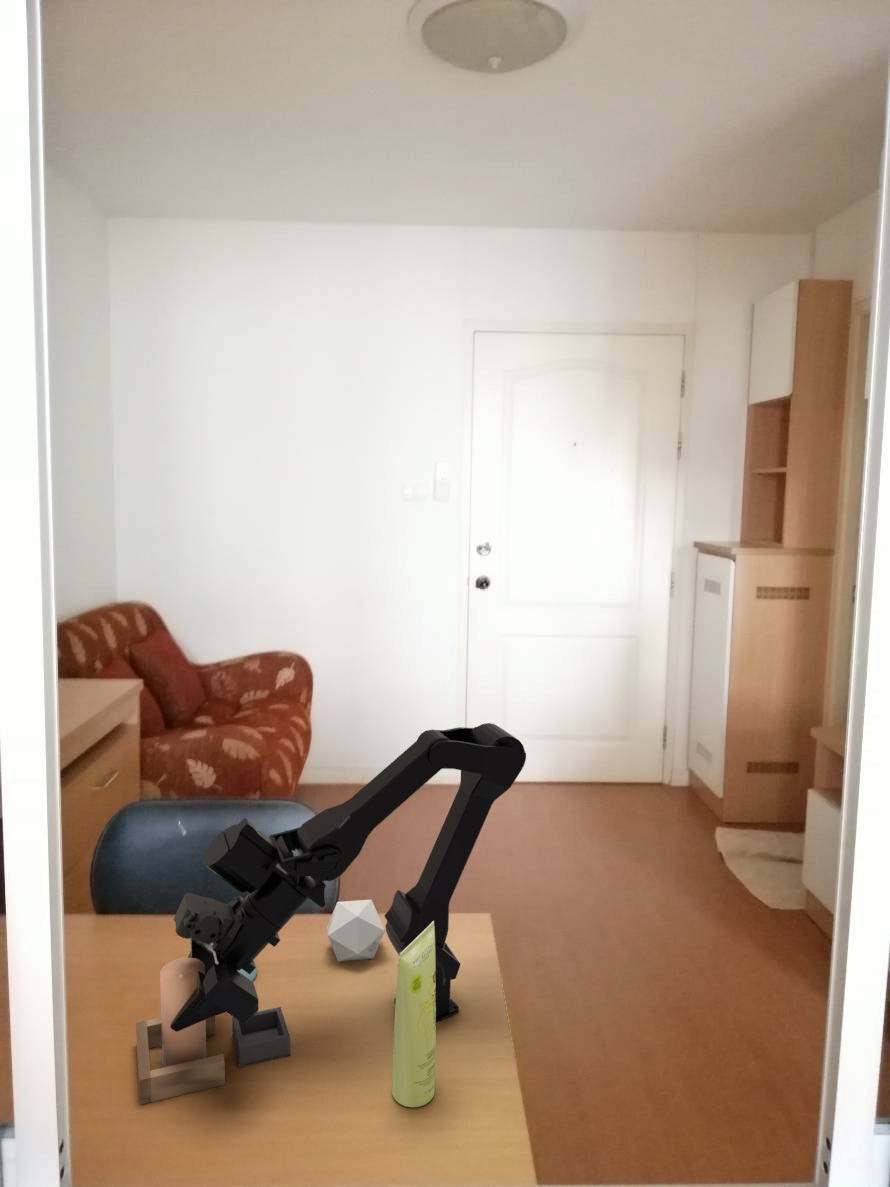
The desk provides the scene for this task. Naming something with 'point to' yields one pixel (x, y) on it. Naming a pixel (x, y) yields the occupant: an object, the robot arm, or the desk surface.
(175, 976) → the canister
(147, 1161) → the desk surface
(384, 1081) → the desk surface
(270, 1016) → the tray
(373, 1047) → the desk surface
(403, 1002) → the tube
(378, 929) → the die
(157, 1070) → the channel
